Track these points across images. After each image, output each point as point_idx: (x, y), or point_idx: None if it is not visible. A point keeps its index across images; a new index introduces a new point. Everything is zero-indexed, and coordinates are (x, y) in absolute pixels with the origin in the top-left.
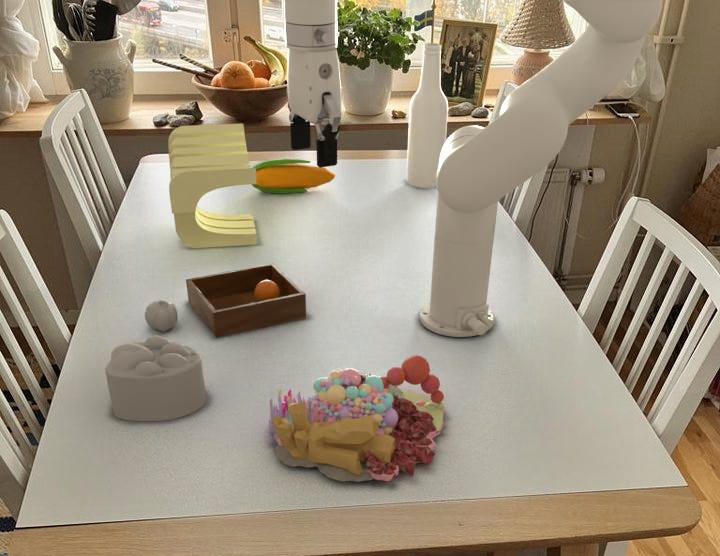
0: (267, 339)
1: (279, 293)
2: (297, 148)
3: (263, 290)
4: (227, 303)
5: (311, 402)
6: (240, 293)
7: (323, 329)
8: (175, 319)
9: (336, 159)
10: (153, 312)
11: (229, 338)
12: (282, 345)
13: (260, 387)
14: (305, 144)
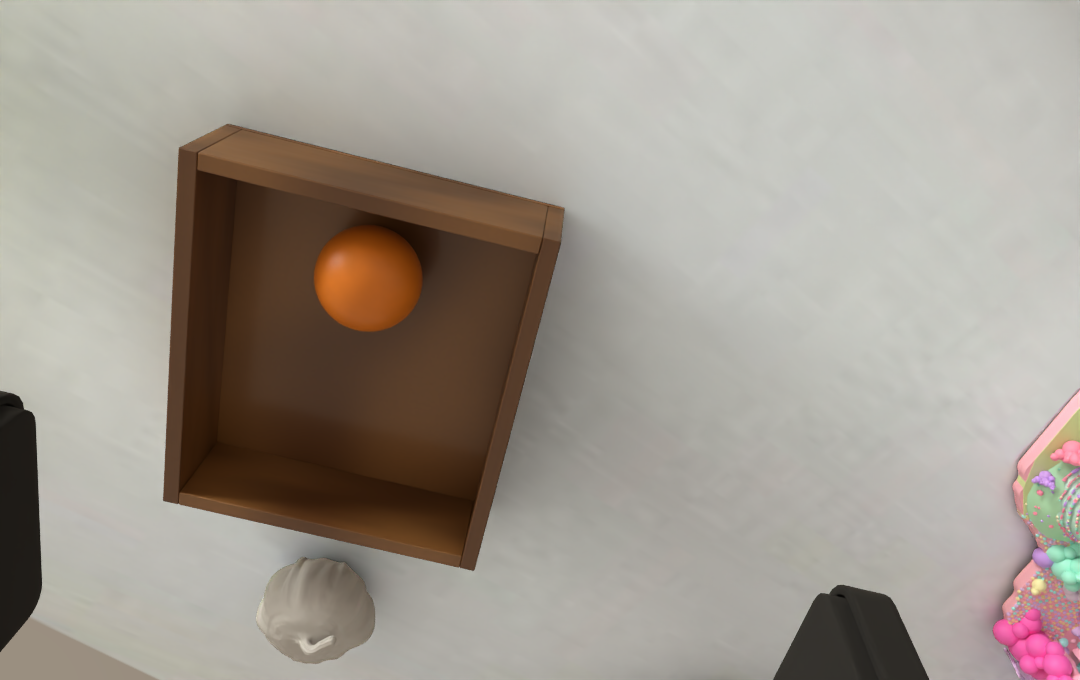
0: (604, 406)
1: (405, 245)
2: (32, 565)
3: (389, 323)
4: (288, 364)
5: (1042, 566)
6: (233, 282)
7: (685, 216)
8: (363, 592)
9: (903, 645)
10: (332, 659)
11: (515, 484)
12: (674, 396)
13: (825, 576)
14: (5, 497)
